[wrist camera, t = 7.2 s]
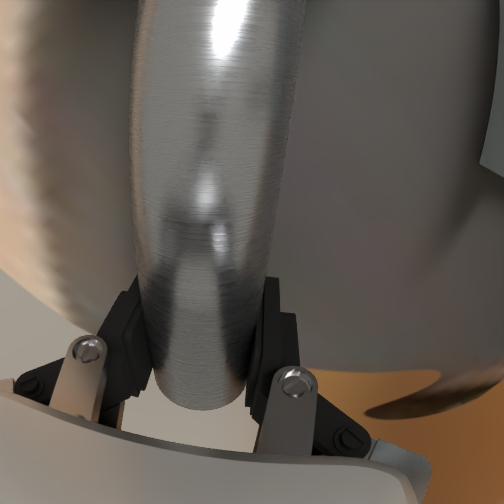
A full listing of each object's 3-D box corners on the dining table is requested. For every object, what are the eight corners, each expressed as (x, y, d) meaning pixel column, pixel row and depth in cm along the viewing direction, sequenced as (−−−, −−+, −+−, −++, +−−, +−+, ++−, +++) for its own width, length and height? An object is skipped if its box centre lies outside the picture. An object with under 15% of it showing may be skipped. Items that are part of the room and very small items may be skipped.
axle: (199, -109, 4) (157, -163, 1) (318, -107, 4) (323, -171, 1) (171, 329, 13) (141, 396, 10) (253, 345, 13) (240, 419, 10)
